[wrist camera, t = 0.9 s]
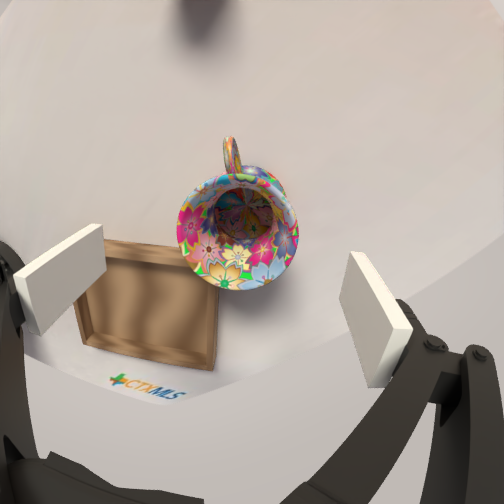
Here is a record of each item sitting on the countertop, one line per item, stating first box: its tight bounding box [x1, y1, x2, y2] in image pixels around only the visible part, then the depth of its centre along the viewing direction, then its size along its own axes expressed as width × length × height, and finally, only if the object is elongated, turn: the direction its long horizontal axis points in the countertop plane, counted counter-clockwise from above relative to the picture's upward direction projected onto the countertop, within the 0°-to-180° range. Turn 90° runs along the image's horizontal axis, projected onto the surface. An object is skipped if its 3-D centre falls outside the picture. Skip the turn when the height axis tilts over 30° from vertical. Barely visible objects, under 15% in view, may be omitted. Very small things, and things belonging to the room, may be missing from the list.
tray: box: [73, 239, 219, 371], centre depth 37 cm, size 20×16×3 cm
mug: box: [177, 136, 299, 290], centre depth 27 cm, size 12×9×11 cm
